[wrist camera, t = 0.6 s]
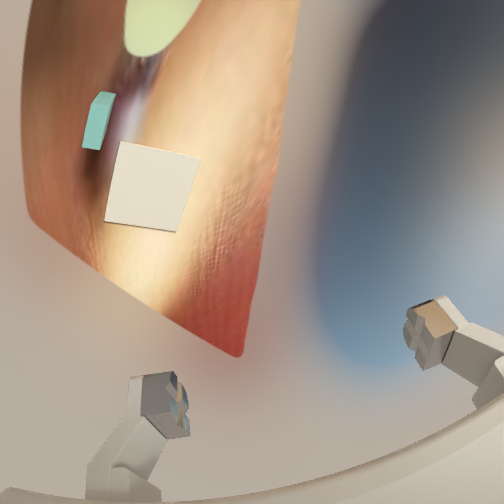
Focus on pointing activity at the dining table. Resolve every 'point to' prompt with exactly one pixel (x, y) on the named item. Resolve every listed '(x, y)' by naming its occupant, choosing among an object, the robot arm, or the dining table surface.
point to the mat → (150, 186)
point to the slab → (98, 120)
